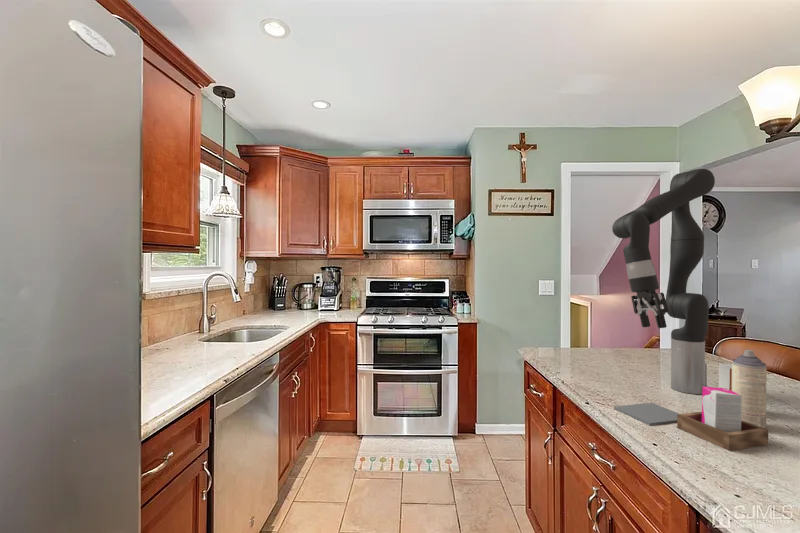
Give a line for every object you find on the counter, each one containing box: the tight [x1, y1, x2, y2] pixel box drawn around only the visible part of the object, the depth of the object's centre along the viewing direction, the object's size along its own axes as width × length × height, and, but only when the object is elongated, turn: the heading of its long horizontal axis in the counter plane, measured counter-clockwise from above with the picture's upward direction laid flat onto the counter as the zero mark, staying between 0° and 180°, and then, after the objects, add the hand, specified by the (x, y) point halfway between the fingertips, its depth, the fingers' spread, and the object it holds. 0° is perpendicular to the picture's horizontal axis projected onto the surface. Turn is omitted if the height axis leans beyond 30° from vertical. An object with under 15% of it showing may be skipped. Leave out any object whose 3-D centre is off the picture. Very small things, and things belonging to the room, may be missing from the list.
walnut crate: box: [676, 411, 769, 451], centre depth 93 cm, size 12×12×4 cm
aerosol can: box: [731, 349, 768, 429], centre depth 100 cm, size 7×7×20 cm
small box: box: [718, 363, 732, 391], centre depth 110 cm, size 8×6×13 cm
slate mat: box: [613, 402, 680, 426], centre depth 107 cm, size 14×12×1 cm
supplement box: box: [701, 386, 742, 433], centre depth 93 cm, size 6×6×12 cm
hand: (654, 327), depth 116 cm, fingers open, 8 cm apart
